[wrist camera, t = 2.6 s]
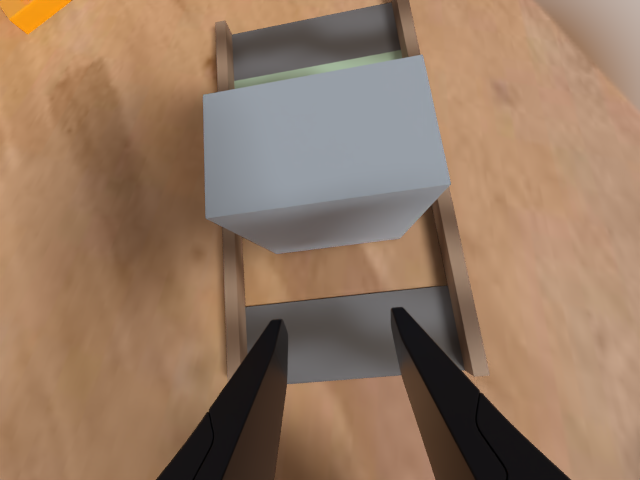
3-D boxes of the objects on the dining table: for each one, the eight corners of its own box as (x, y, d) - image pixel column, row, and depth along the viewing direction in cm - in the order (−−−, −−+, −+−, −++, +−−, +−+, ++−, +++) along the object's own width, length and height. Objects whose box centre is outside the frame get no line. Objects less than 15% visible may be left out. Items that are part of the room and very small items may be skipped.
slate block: (399, 238, 21) (450, 184, 10) (276, 253, 22) (205, 218, 11) (387, 168, 22) (422, 54, 11) (271, 185, 23) (202, 94, 12)
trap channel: (479, 368, 19) (490, 375, 18) (236, 387, 21) (228, 395, 19) (402, 0, 26) (405, -18, 24) (222, 37, 27) (215, 22, 26)
